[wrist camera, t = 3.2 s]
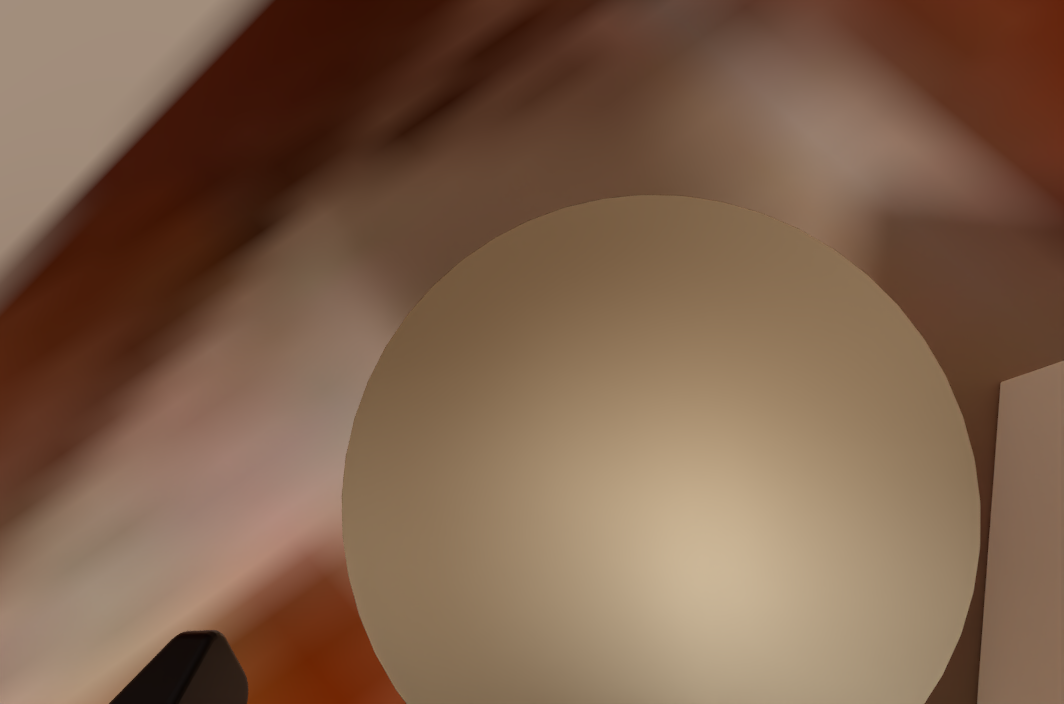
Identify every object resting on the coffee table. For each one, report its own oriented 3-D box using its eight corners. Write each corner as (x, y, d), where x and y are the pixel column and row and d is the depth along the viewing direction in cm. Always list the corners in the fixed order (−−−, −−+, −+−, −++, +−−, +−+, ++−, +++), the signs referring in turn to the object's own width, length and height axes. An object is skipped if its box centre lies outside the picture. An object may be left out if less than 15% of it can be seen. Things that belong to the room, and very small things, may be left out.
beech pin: (779, 649, 17) (953, 903, 7) (519, 606, 18) (294, 766, 7) (806, 385, 18) (1004, 223, 7) (553, 355, 19) (393, 170, 8)
